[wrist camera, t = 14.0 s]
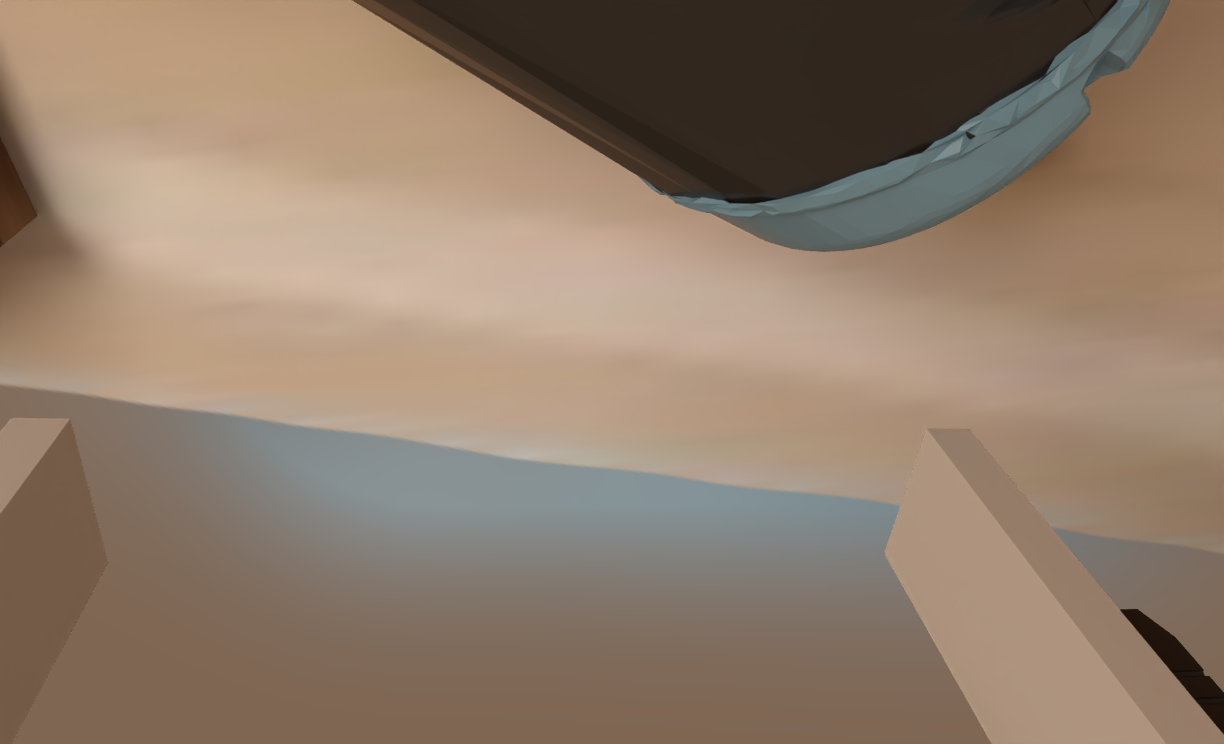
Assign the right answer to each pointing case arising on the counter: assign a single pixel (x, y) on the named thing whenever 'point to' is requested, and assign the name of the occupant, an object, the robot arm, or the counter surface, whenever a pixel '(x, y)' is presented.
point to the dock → (12, 200)
